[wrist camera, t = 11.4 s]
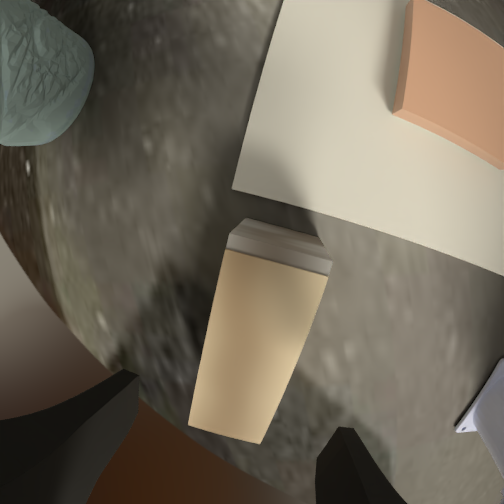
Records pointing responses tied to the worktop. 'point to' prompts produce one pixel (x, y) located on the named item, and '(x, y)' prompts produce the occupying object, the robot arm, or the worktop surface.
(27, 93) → the teal cup
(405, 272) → the worktop surface
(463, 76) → the tile
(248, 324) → the tan wooden block
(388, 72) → the mat
